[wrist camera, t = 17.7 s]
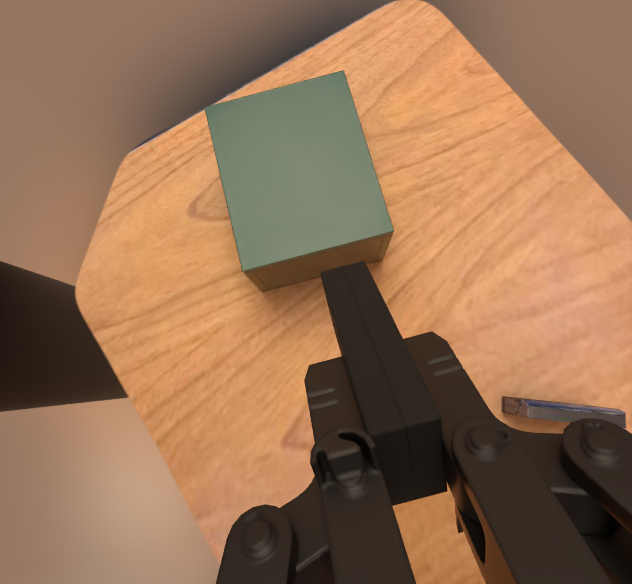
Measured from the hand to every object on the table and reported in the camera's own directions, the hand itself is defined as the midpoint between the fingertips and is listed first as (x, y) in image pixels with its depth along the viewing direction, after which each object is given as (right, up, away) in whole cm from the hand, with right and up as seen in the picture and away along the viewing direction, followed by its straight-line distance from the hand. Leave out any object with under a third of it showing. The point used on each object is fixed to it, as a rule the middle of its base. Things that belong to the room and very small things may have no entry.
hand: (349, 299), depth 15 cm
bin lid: (-3, +11, +25) cm, 28 cm away
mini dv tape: (+22, -11, +29) cm, 38 cm away
